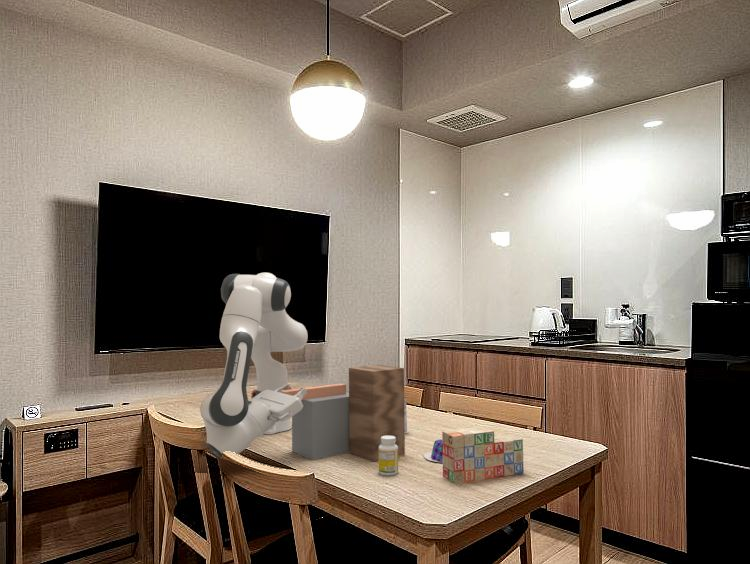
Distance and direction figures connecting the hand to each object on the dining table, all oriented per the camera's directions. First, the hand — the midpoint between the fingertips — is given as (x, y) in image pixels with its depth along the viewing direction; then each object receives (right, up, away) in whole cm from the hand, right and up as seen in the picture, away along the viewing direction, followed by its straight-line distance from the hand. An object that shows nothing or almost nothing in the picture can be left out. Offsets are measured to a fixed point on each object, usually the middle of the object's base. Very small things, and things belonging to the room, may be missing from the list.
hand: (296, 388), depth 170 cm
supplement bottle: (+27, -20, -17) cm, 38 cm away
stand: (+24, -20, +2) cm, 32 cm away
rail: (+5, -4, +4) cm, 7 cm away
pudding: (+44, -21, -3) cm, 49 cm away
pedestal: (+9, -21, +6) cm, 23 cm away
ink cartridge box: (+31, -21, +25) cm, 45 cm away
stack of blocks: (+52, -20, -20) cm, 59 cm away
